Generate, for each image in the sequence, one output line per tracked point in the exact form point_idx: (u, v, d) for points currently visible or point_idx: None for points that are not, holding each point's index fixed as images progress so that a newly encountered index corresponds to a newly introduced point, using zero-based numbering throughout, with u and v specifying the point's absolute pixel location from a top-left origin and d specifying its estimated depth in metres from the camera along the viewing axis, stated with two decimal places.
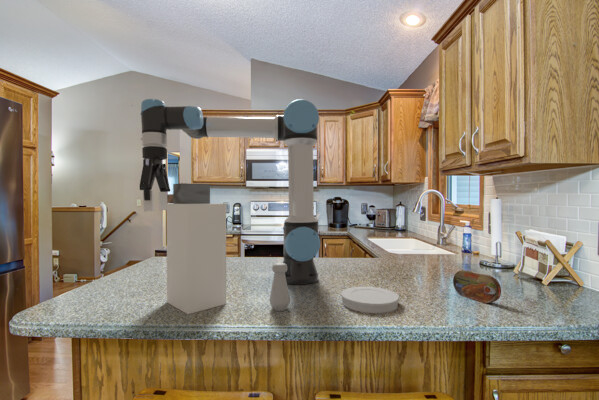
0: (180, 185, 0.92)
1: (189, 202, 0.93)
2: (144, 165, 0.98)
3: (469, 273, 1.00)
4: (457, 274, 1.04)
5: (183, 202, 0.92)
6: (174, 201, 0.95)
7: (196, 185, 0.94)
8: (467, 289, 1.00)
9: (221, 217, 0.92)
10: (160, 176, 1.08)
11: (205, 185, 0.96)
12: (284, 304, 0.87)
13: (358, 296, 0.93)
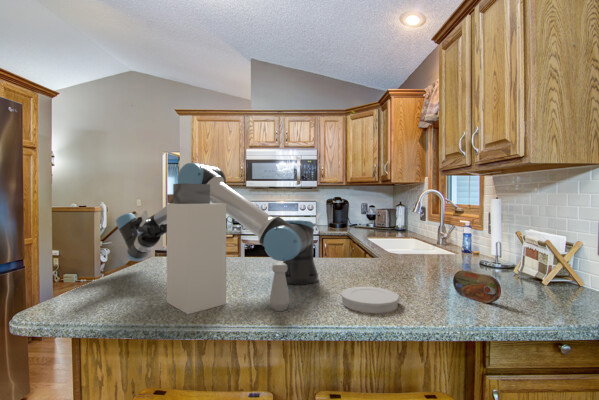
0: (180, 185, 0.92)
1: (189, 202, 0.93)
2: None
3: (469, 273, 1.00)
4: (457, 274, 1.04)
5: (183, 202, 0.92)
6: (174, 201, 0.95)
7: (196, 185, 0.94)
8: (467, 289, 1.00)
9: (221, 217, 0.92)
10: (163, 226, 1.20)
11: (205, 185, 0.96)
12: (284, 304, 0.87)
13: (358, 295, 0.93)
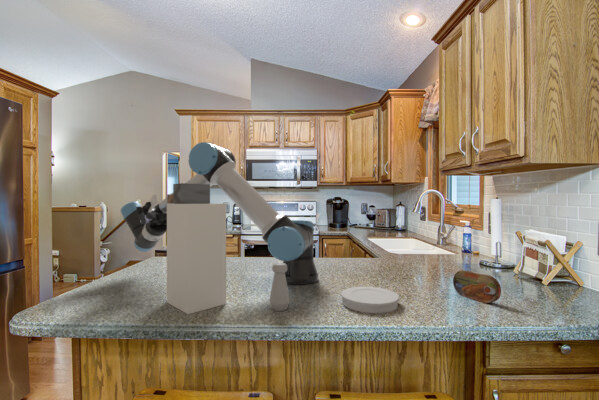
0: (180, 185, 0.92)
1: (189, 202, 0.93)
2: None
3: (469, 273, 1.00)
4: (457, 274, 1.04)
5: (183, 202, 0.92)
6: (174, 201, 0.95)
7: (196, 185, 0.94)
8: (467, 289, 1.00)
9: (221, 217, 0.92)
10: None
11: (205, 185, 0.96)
12: (284, 304, 0.87)
13: (358, 296, 0.93)
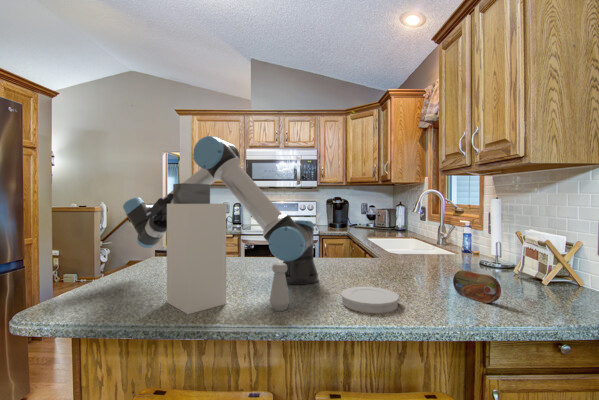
0: (180, 185, 0.92)
1: (189, 202, 0.93)
2: (150, 214, 1.05)
3: (469, 273, 1.00)
4: (457, 274, 1.04)
5: (183, 202, 0.92)
6: (174, 201, 0.95)
7: (196, 185, 0.94)
8: (467, 289, 1.00)
9: (221, 217, 0.92)
10: None
11: (205, 185, 0.96)
12: (284, 304, 0.87)
13: (358, 295, 0.93)
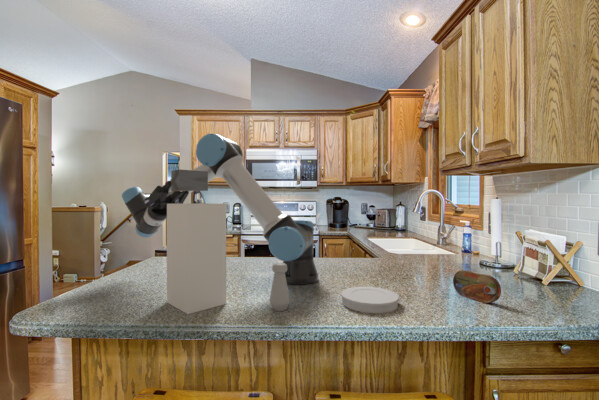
0: (178, 172, 0.93)
1: (187, 188, 0.93)
2: (149, 202, 1.06)
3: (469, 273, 1.00)
4: (457, 274, 1.04)
5: (181, 188, 0.92)
6: (172, 187, 0.96)
7: (194, 172, 0.95)
8: (467, 289, 1.00)
9: (221, 217, 0.92)
10: (170, 197, 1.10)
11: (203, 172, 0.97)
12: (284, 304, 0.87)
13: (358, 295, 0.93)
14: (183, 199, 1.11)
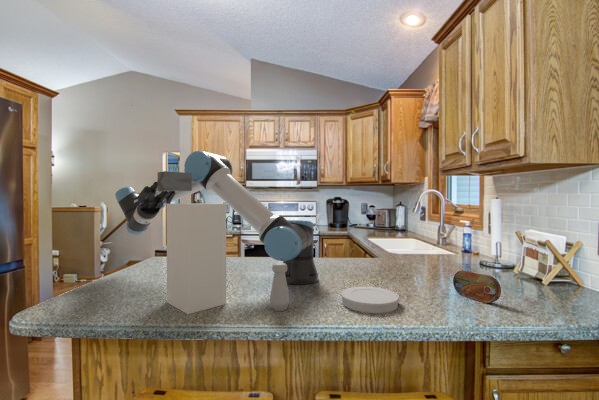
0: (163, 173, 1.00)
1: (172, 189, 1.01)
2: (138, 201, 1.13)
3: (469, 273, 1.00)
4: (457, 274, 1.04)
5: (166, 189, 1.00)
6: (158, 188, 1.03)
7: (178, 173, 1.02)
8: (467, 289, 1.00)
9: (221, 217, 0.92)
10: (158, 197, 1.18)
11: (187, 173, 1.05)
12: (284, 304, 0.87)
13: (358, 295, 0.93)
14: (170, 199, 1.19)
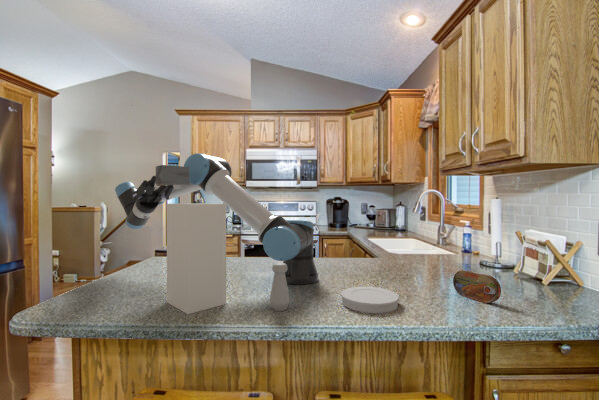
0: (161, 167, 1.02)
1: (169, 182, 1.03)
2: (136, 195, 1.15)
3: (469, 273, 1.00)
4: (457, 274, 1.04)
5: (164, 182, 1.01)
6: (156, 181, 1.05)
7: (176, 167, 1.04)
8: (467, 289, 1.00)
9: (221, 217, 0.92)
10: (156, 191, 1.19)
11: (185, 167, 1.06)
12: (284, 304, 0.87)
13: (358, 295, 0.93)
14: (169, 193, 1.21)
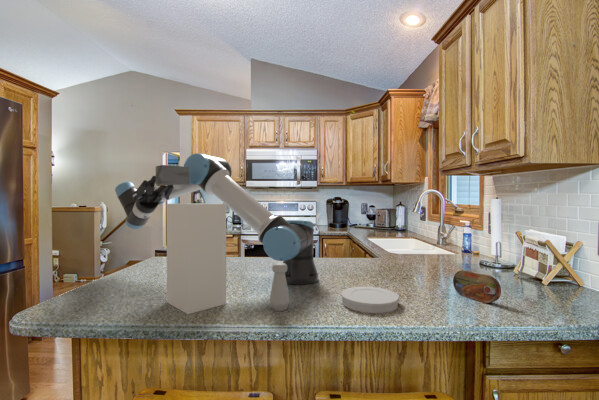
0: (161, 167, 1.02)
1: (169, 182, 1.03)
2: (136, 195, 1.15)
3: (469, 273, 1.00)
4: (457, 274, 1.04)
5: (164, 182, 1.01)
6: (156, 181, 1.05)
7: (176, 167, 1.04)
8: (467, 289, 1.00)
9: (221, 217, 0.92)
10: (156, 191, 1.19)
11: (185, 167, 1.06)
12: (284, 304, 0.87)
13: (358, 296, 0.93)
14: (169, 193, 1.21)
